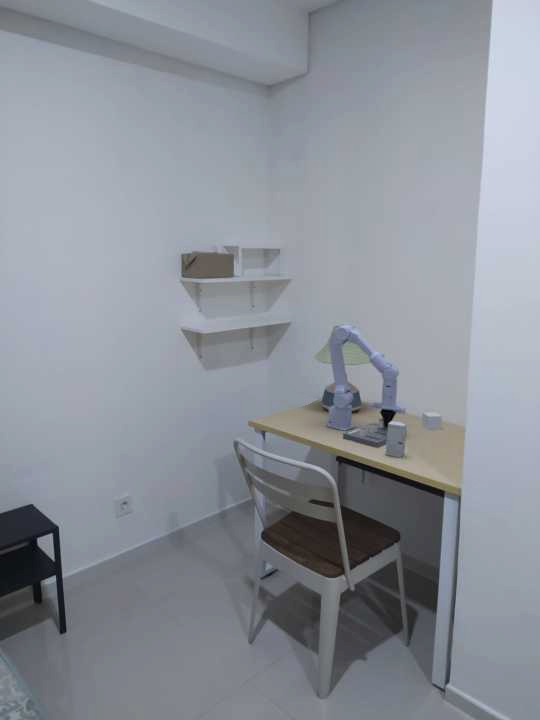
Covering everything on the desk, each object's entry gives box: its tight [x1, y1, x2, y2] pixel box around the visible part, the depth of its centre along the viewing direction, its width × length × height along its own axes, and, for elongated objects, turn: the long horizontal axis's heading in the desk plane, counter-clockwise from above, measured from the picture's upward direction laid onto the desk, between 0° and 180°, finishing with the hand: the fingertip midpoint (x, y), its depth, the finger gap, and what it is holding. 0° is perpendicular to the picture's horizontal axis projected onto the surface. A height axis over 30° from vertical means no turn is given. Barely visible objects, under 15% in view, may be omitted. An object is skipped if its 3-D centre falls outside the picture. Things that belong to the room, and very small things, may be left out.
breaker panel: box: [342, 422, 408, 449], centre depth 224 cm, size 16×22×5 cm
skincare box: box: [385, 420, 408, 458], centre depth 203 cm, size 6×4×12 cm
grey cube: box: [421, 412, 443, 431], centre depth 239 cm, size 6×6×6 cm
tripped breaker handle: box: [378, 417, 385, 428], centre depth 230 cm, size 2×3×3 cm, turn 137°
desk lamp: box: [313, 322, 371, 413], centre depth 263 cm, size 26×28×42 cm
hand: (387, 427), depth 228 cm, fingers closed
